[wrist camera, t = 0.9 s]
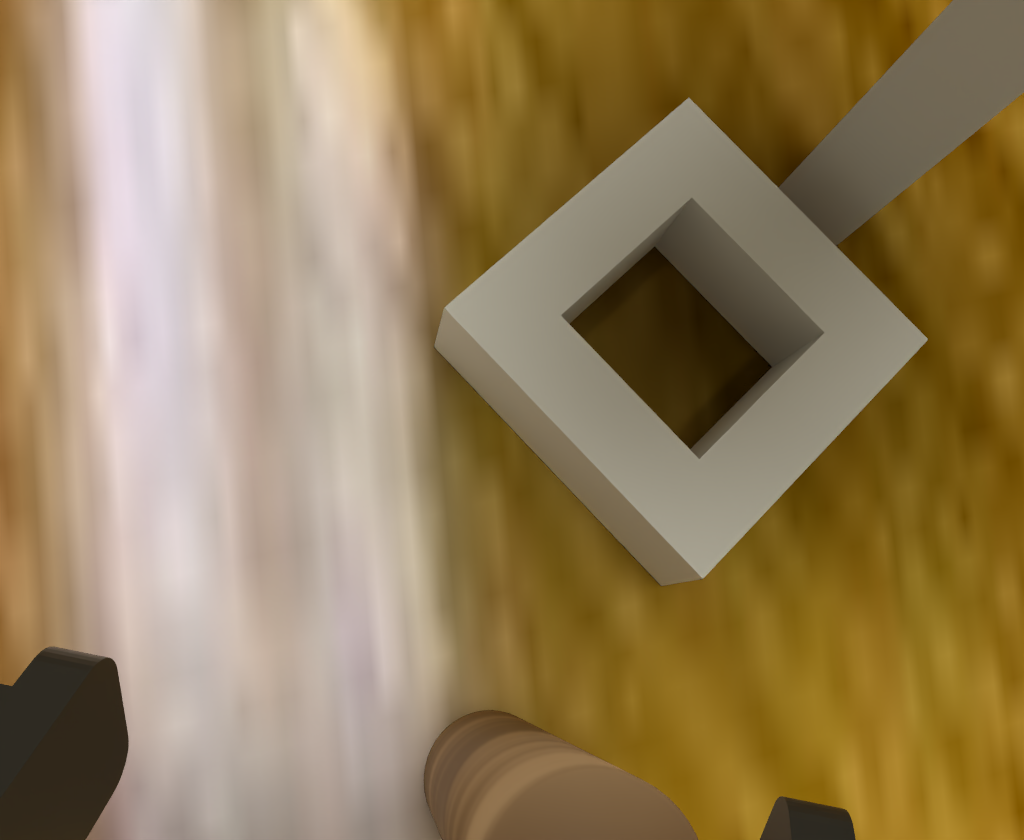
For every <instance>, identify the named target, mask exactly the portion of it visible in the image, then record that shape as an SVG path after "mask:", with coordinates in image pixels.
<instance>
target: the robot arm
mask: <svg viewBox="0 0 1024 840" xmlns="http://www.w3.org/2000/svg"><path fill="white" fill-rule="evenodd" d="M127 753H128V732H127V726H126V720H125V714H124V708H123V701H122V695H121V689H120V683H119V677H118V671H117V666H116V664H115V662H114V660H113V659H111V658H108V657H103V656H98V655H93V654H88V653H83V652H78V651H73V650H68V649H63V648H58V647H48V648H46V649H44V650H43V651H41V652H40V653H39V654H38V655H37V656H36V657H35V658H34V659H33V661H32V662H31V663H30V664H29V666H28V667H27V668H26V669H25V671H24V672H23V673H22V675H21V676H20V677H19V678H18V680H17V681H16V682H15V684H14V685H13V686H8V685H3V684H0V840H86V838H87V836H88V835H89V833H90V831H91V830H92V828H93V826H94V824H95V823H96V821H97V819H98V818H99V816H100V814H101V813H102V811H103V809H104V808H105V806H106V804H107V803H108V801H109V799H110V798H111V796H112V794H113V792H114V791H115V789H116V787H117V785H118V783H119V780H120V778H121V775H122V772H123V769H124V766H125V762H126V758H127ZM760 840H855V834H854V828H853V823H852V820H851V817H850V815H849V813H848V812H847V810H845V809H842V808H837V807H832V806H827V805H822V804H817V803H812V802H807V801H802V800H797V799H792V798H787V797H779V798H778V799H777V800H776V802H775V804H774V806H773V809H772V811H771V814H770V816H769V819H768V821H767V824H766V826H765V828H764V831H763V833H762V836H761V838H760Z"/></svg>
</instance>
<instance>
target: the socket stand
mask: <svg viewBox="0 0 1024 840" xmlns="http://www.w3.org/2000/svg"><path fill="white" fill-rule="evenodd" d="M1023 92H1024V0H953V1H952V2H951V3H950V4H949V5H948V6H947V7H946V8H945V10H944V11H943V12H942V13H941V14H940V15H939V16H938V17H937V18H936V19H935V20H934V21H933V22H932V24H931V25H930V26H929V27H928V28H927V29H926V30H925V31H924V32H923V33H922V34H921V35H920V36H919V37H918V39H917V40H916V41H915V42H914V43H913V44H912V45H911V46H910V47H909V48H908V49H907V50H906V51H905V52H904V54H903V55H902V56H901V57H900V58H899V59H898V60H897V61H896V62H895V63H894V64H893V65H892V66H891V67H890V69H889V70H888V71H887V72H886V73H885V74H884V75H883V76H882V77H881V78H880V79H879V80H878V81H877V82H876V84H875V85H874V86H873V87H872V88H871V89H870V90H869V91H868V92H867V93H866V94H865V95H864V96H863V97H862V99H861V100H860V101H859V102H858V103H857V104H856V105H855V106H854V107H853V108H852V109H851V110H850V111H849V112H848V114H847V115H846V116H845V117H844V118H843V119H842V120H841V121H840V122H839V123H838V124H837V125H836V126H835V127H834V129H833V130H832V131H831V132H830V133H829V134H828V135H827V136H826V137H825V138H824V139H823V140H822V141H821V142H820V144H819V145H818V146H817V147H816V148H815V149H814V150H813V151H812V152H811V153H810V154H809V155H808V156H807V158H806V159H805V160H804V161H803V162H802V163H801V164H800V165H799V166H798V167H797V168H796V169H795V170H794V171H793V173H792V174H791V175H790V176H789V177H788V178H787V179H786V180H785V181H784V182H783V183H782V184H781V185H780V186H779V188H778V187H777V186H776V185H775V184H774V183H773V182H772V181H771V180H770V179H769V178H768V177H767V176H766V175H765V174H764V173H763V172H762V171H761V170H760V169H759V168H758V167H757V166H756V165H755V164H754V163H753V162H752V161H751V160H750V159H749V158H748V157H747V156H746V155H745V154H744V153H743V152H742V151H741V150H740V149H739V148H738V147H737V146H736V145H735V144H734V143H733V142H732V141H731V140H730V139H729V138H728V137H727V136H726V135H725V134H724V133H723V131H722V130H721V129H720V128H719V127H718V126H717V125H716V124H715V123H714V122H713V121H712V120H711V119H710V118H709V117H708V116H707V115H706V114H705V113H704V112H703V111H702V110H701V109H700V108H699V107H698V106H697V105H696V104H695V103H694V102H693V101H692V100H691V99H690V98H688V99H687V100H685V101H684V102H683V103H682V104H681V105H680V106H678V107H677V108H676V109H675V110H674V111H673V112H671V113H670V114H669V115H668V116H667V117H666V118H664V119H663V120H662V121H661V122H660V123H659V124H657V125H656V126H655V127H654V128H653V129H652V130H650V131H649V132H648V133H647V134H646V135H645V136H643V137H642V138H641V139H640V140H639V141H638V142H637V143H635V144H634V145H633V146H632V147H631V148H630V149H628V150H627V151H626V152H625V153H624V154H623V155H621V156H620V157H619V158H618V159H617V160H616V161H614V162H613V163H612V164H611V165H610V166H609V167H607V168H606V169H605V170H604V171H603V172H602V173H600V174H599V175H598V176H597V177H596V178H595V179H593V180H592V181H591V182H590V183H589V184H588V185H586V186H585V187H584V188H583V189H582V190H581V191H579V192H578V193H577V194H576V195H575V196H574V197H572V198H571V199H570V200H569V201H568V202H567V203H565V204H564V205H563V206H562V207H561V208H560V209H558V210H557V211H556V212H555V213H554V214H553V215H551V216H550V217H549V218H548V219H547V220H546V221H545V222H543V223H542V224H541V225H540V226H539V227H538V228H536V229H535V230H534V231H533V232H532V233H531V234H529V235H528V236H527V237H526V238H525V239H524V240H522V241H521V242H520V243H519V244H518V245H517V246H515V247H514V248H513V249H512V250H511V251H510V252H508V253H507V254H506V255H505V256H504V257H503V258H501V259H500V260H499V261H498V262H497V263H496V264H494V265H493V266H492V267H491V268H490V269H489V270H487V271H486V272H485V273H484V274H483V275H482V276H480V277H479V278H478V279H477V280H476V281H475V282H473V283H472V284H471V285H470V286H469V287H468V288H466V289H465V290H464V291H463V292H462V293H461V294H459V295H458V296H457V297H456V298H455V299H454V300H453V301H451V302H450V303H449V304H448V305H447V306H446V307H444V310H443V314H442V318H441V322H440V326H439V329H438V333H437V337H436V341H435V345H434V347H435V348H436V350H437V351H438V352H439V353H440V354H441V355H442V356H443V357H444V358H445V359H446V360H447V361H448V362H449V363H450V364H451V365H452V366H453V367H454V368H455V369H456V371H457V372H458V373H459V374H460V375H461V376H462V377H463V378H464V379H465V380H466V381H467V382H468V383H469V384H470V385H471V386H472V387H473V388H474V389H475V391H476V392H477V393H478V394H479V395H480V396H481V397H482V398H483V399H484V400H485V401H486V402H487V403H488V404H489V405H490V406H491V407H492V408H493V409H494V411H495V412H496V413H497V414H498V415H499V416H500V417H501V418H502V419H503V420H504V421H505V422H506V423H507V424H508V425H509V426H510V427H511V428H512V429H513V430H514V432H515V433H516V434H517V435H518V436H519V437H520V438H521V439H522V440H523V441H524V442H525V443H526V444H527V445H528V446H529V447H530V448H531V449H532V450H533V452H534V453H535V454H536V455H537V456H538V457H539V458H540V459H541V460H542V461H543V462H544V463H545V464H546V465H547V466H548V467H549V468H550V469H551V470H552V472H553V473H554V474H555V475H556V476H557V477H558V478H559V479H560V480H561V481H562V482H563V483H564V484H565V485H566V486H567V487H568V488H569V489H570V490H571V492H572V493H573V494H574V495H575V496H576V497H577V498H578V499H579V500H580V501H581V502H582V503H583V504H584V505H585V506H586V507H587V508H588V509H589V510H590V511H591V513H592V514H593V515H594V516H595V517H596V518H597V519H598V520H599V521H600V522H601V523H602V524H603V525H604V526H605V527H606V528H607V529H608V530H609V531H610V533H611V534H612V535H613V536H614V537H615V538H616V539H617V540H618V541H619V542H620V543H621V544H622V545H623V546H624V547H625V548H626V549H627V550H628V551H629V553H630V554H631V555H632V556H633V557H634V558H635V559H636V560H637V561H638V562H639V563H640V564H641V565H642V566H643V567H644V568H645V569H646V570H647V571H648V572H649V574H650V575H651V576H652V577H653V578H654V579H655V580H656V581H657V582H658V583H659V584H660V585H661V586H664V585H670V584H675V583H681V582H687V581H693V580H699V579H703V578H704V577H705V576H706V575H707V574H708V573H709V572H710V571H711V570H712V569H713V568H714V567H715V565H716V564H717V563H718V562H719V561H720V560H721V559H722V558H723V557H724V556H725V555H726V554H727V553H728V552H729V551H730V550H731V548H732V547H733V546H734V545H735V544H736V543H737V542H738V541H739V540H740V539H741V538H742V537H743V536H744V535H745V534H746V533H747V531H748V530H749V529H750V528H751V527H752V526H753V525H754V524H755V523H756V522H757V521H758V520H759V519H760V518H761V517H762V516H763V514H764V513H765V512H766V511H767V510H768V509H769V508H770V507H771V506H772V505H773V504H774V503H775V502H776V501H777V500H778V499H779V497H780V496H781V495H782V494H783V493H784V492H785V491H786V490H787V489H788V488H789V487H790V486H791V485H792V484H793V483H794V482H795V480H796V479H797V478H798V477H799V476H800V475H801V474H802V473H803V472H804V471H805V470H806V469H807V468H808V467H809V466H810V465H811V463H812V462H813V461H814V460H815V459H816V458H817V457H818V456H819V455H820V454H821V453H822V452H823V451H824V450H825V449H826V448H827V446H828V445H829V444H830V443H831V442H832V441H833V440H834V439H835V438H836V437H837V436H838V435H839V434H840V433H841V432H842V431H843V429H844V428H845V427H846V426H847V425H848V424H849V423H850V422H851V421H852V420H853V419H854V418H855V417H856V416H857V415H858V414H859V412H860V411H861V410H862V409H863V408H864V407H865V406H866V405H867V404H868V403H869V402H870V401H871V400H872V399H873V398H874V397H875V395H876V394H877V393H878V392H879V391H880V390H881V389H882V388H883V387H884V386H885V385H886V384H887V383H888V382H889V381H890V380H891V378H892V377H893V376H894V375H895V374H896V373H897V372H898V371H899V370H900V369H901V368H902V367H903V366H904V365H905V364H906V363H907V361H908V360H909V359H910V358H911V357H912V356H913V355H914V354H915V353H916V352H917V351H918V350H919V349H920V348H921V347H922V346H923V345H924V343H925V342H926V341H927V340H928V339H927V338H926V337H925V336H924V335H923V334H922V333H921V332H920V331H919V330H918V329H917V327H916V326H915V325H914V324H913V323H912V322H911V321H910V320H909V319H908V318H907V317H906V316H905V315H904V314H903V313H902V312H901V311H900V310H899V309H898V308H897V307H896V306H895V305H894V304H893V303H892V302H891V301H890V300H889V299H888V298H887V297H886V296H885V295H884V294H883V293H882V292H881V291H880V290H879V289H878V288H877V287H876V286H875V285H874V284H873V283H872V282H871V281H870V280H869V279H868V278H867V277H866V276H865V275H864V274H863V273H862V272H861V271H860V270H859V269H858V268H857V267H856V266H855V265H854V264H853V263H852V262H851V261H850V260H849V259H848V258H847V257H846V256H845V255H844V254H843V253H842V252H841V251H840V250H839V249H838V248H837V247H836V246H837V245H838V244H839V243H840V242H842V241H843V240H844V239H845V238H847V237H848V236H849V235H850V234H851V233H853V232H854V231H855V230H856V229H858V228H859V227H860V226H861V225H862V224H864V223H865V222H866V221H867V220H869V219H870V218H871V217H872V216H873V215H875V214H876V213H877V212H878V211H880V210H881V209H882V208H883V207H884V206H886V205H887V204H888V203H889V202H890V201H892V200H893V199H894V198H895V197H897V196H898V195H899V194H900V193H901V192H903V191H904V190H905V189H906V188H908V187H909V186H910V185H911V184H912V183H914V182H915V181H916V180H917V179H919V178H920V177H921V176H922V175H923V174H925V173H926V172H927V171H928V170H930V169H931V168H932V167H933V166H934V165H936V164H937V163H938V162H939V161H940V160H942V159H943V158H944V157H945V156H947V155H948V154H949V153H950V152H951V151H953V150H954V149H955V148H956V147H958V146H959V145H960V144H961V143H962V142H964V141H965V140H966V139H967V138H969V137H970V136H971V135H972V134H973V133H975V132H976V131H977V130H978V129H980V128H981V127H982V126H983V125H984V124H986V123H987V122H988V121H989V120H991V119H992V118H993V117H994V116H995V115H997V114H998V113H999V112H1000V111H1001V110H1003V109H1004V108H1005V107H1006V106H1008V105H1009V104H1010V103H1011V102H1012V101H1014V100H1015V99H1016V98H1017V97H1019V96H1020V95H1021V94H1022V93H1023ZM654 247H656V248H657V249H658V250H659V252H660V253H661V254H662V255H663V256H664V257H665V258H666V259H667V260H668V261H669V262H670V263H671V264H672V265H673V266H674V267H675V268H676V269H677V270H678V271H679V272H680V273H681V274H682V275H683V276H684V277H685V278H686V279H687V280H688V281H689V282H690V283H691V284H692V285H693V286H694V287H695V288H696V289H697V290H698V291H699V293H700V294H701V295H702V296H703V297H704V298H705V299H706V300H707V301H708V302H709V303H710V304H711V305H712V306H713V307H714V308H715V309H716V310H717V311H718V312H719V313H720V314H721V315H722V316H723V317H724V318H725V319H726V320H727V321H728V322H729V323H730V324H731V325H732V326H733V327H734V328H735V329H736V330H737V331H738V333H739V334H740V335H741V336H742V337H743V338H744V339H745V340H746V341H747V342H748V343H749V344H750V345H751V346H752V347H753V348H754V349H755V350H756V351H757V352H758V353H759V354H760V355H761V356H762V357H763V358H764V359H765V360H766V361H767V362H768V363H769V364H770V365H771V366H772V368H771V369H770V370H769V371H768V372H767V373H766V374H765V375H764V376H763V377H762V378H761V379H760V380H759V381H758V382H757V383H756V384H755V385H754V386H753V387H752V388H751V389H750V390H749V391H748V392H747V393H746V394H745V395H744V396H743V397H742V398H741V399H740V400H739V401H738V402H737V403H736V404H735V405H734V406H733V407H732V408H731V409H730V410H729V411H728V412H727V413H726V414H725V415H724V416H723V417H722V418H721V419H720V420H719V421H718V422H717V423H716V424H715V425H714V426H713V427H712V428H711V429H710V430H709V431H708V432H707V433H706V434H705V435H704V436H703V437H702V438H701V439H700V440H699V441H698V442H697V443H696V444H695V445H694V446H693V447H692V448H691V449H689V448H688V447H687V446H686V445H685V444H684V443H683V442H682V441H681V440H680V439H679V438H678V437H677V435H676V434H675V433H674V432H673V431H672V430H671V429H670V428H669V427H668V426H667V425H666V424H665V423H664V422H663V421H662V420H661V419H660V418H659V417H658V416H657V415H656V414H655V413H654V412H653V411H652V410H651V408H650V407H649V406H648V405H647V404H646V403H645V402H644V401H643V400H642V399H641V398H640V397H639V396H638V395H637V394H636V393H635V392H634V391H633V390H632V389H631V388H630V387H629V386H628V385H627V384H626V383H625V381H624V380H623V379H622V378H621V377H620V376H619V375H618V374H617V373H616V372H615V371H614V370H613V369H612V368H611V367H610V366H609V365H608V364H607V363H606V362H605V361H604V360H603V359H602V358H601V357H600V356H599V354H598V353H597V352H596V351H595V350H594V349H593V348H592V347H591V346H590V345H589V344H588V343H587V342H586V341H585V340H584V339H583V338H582V337H581V336H580V335H579V334H578V333H577V332H576V331H575V330H574V329H573V327H572V326H571V325H570V323H571V322H572V321H573V320H574V319H575V318H576V317H577V316H579V315H580V314H581V313H582V312H583V311H584V310H585V309H586V308H587V307H588V306H590V305H591V304H592V303H593V302H594V301H595V300H596V299H597V298H598V297H599V296H601V295H602V294H603V293H604V292H605V291H606V290H607V289H608V288H609V287H611V286H612V285H613V284H614V283H615V282H616V281H617V280H618V279H619V278H620V277H622V276H623V275H624V274H625V273H626V272H627V271H628V270H629V269H630V268H631V267H633V266H634V265H635V264H636V263H637V262H638V261H639V260H640V259H641V258H642V257H644V256H645V255H646V254H647V253H648V252H649V251H650V250H651V249H652V248H654Z"/></svg>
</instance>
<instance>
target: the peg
mask: <svg viewBox="0 0 1024 840" xmlns="http://www.w3.org/2000/svg"><path fill="white" fill-rule="evenodd" d="M424 789H425V795H426V800H427V803H428V806H429V808H430V811H431V813H432V816H433V818H434V821H435V823H436V826H437V828H438V830H439V833H440V835H441V838H442V840H698V838H697V836H696V834H695V832H694V830H693V828H692V827H691V825H690V823H689V821H688V820H687V819H686V817H685V816H684V815H683V813H682V812H681V811H680V809H679V808H678V807H677V806H676V805H675V804H674V803H673V802H672V801H671V800H670V799H669V798H668V797H667V796H666V795H664V794H663V793H662V792H661V791H659V790H658V789H657V788H655V787H654V786H652V785H650V784H648V783H647V782H645V781H643V780H641V779H639V778H637V777H635V776H633V775H631V774H629V773H627V772H626V771H624V770H622V769H620V768H618V767H616V766H614V765H612V764H610V763H608V762H606V761H604V760H602V759H600V758H598V757H596V756H594V755H592V754H590V753H588V752H586V751H584V750H582V749H580V748H578V747H576V746H574V745H572V744H570V743H568V742H566V741H564V740H562V739H560V738H558V737H556V736H554V735H552V734H550V733H548V732H546V731H544V730H542V729H540V728H538V727H536V726H534V725H532V724H530V723H528V722H526V721H524V720H522V719H520V718H518V717H516V716H514V715H511V714H509V713H505V712H501V711H493V710H491V711H479V712H474V713H471V714H468V715H466V716H463V717H461V718H459V719H458V720H456V721H455V722H453V723H452V724H451V725H449V726H448V727H447V728H446V729H445V730H444V731H443V732H442V733H441V734H440V736H439V737H438V738H437V740H436V741H435V743H434V745H433V746H432V748H431V750H430V753H429V755H428V758H427V762H426V766H425V772H424Z"/></svg>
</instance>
